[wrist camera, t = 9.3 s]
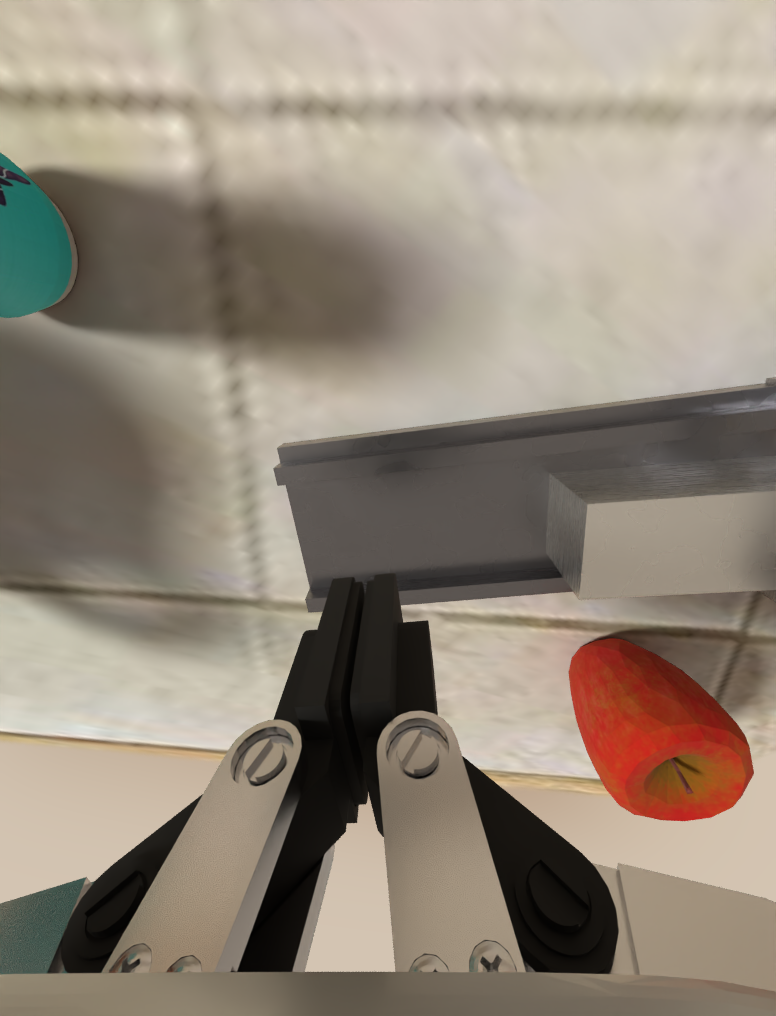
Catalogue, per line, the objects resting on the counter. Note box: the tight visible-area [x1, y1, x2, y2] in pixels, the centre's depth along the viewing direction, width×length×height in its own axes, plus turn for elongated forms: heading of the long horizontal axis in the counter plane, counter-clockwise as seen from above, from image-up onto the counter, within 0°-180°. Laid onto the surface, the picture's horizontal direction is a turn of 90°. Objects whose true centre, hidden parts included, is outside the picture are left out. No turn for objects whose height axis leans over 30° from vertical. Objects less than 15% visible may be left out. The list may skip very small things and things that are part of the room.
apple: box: [569, 638, 754, 821], centre depth 19 cm, size 6×6×8 cm
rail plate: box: [273, 383, 776, 612], centre depth 18 cm, size 9×32×2 cm, turn 98°
